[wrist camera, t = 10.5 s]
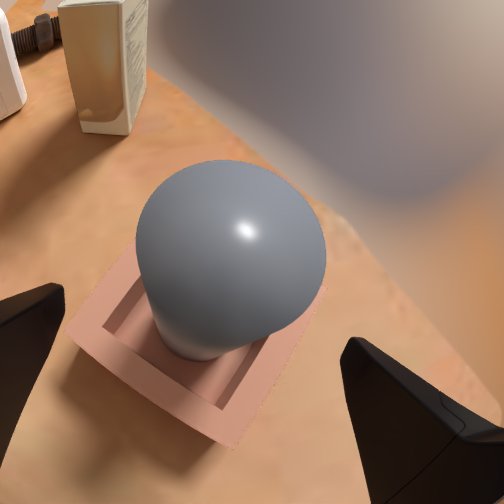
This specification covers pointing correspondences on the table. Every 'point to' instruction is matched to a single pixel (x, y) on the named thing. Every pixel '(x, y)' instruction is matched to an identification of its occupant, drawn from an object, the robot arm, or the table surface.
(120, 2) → the skincare box
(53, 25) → the bolt
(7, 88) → the photo printer
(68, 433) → the table surface
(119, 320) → the tray
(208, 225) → the grey dome-topped post
